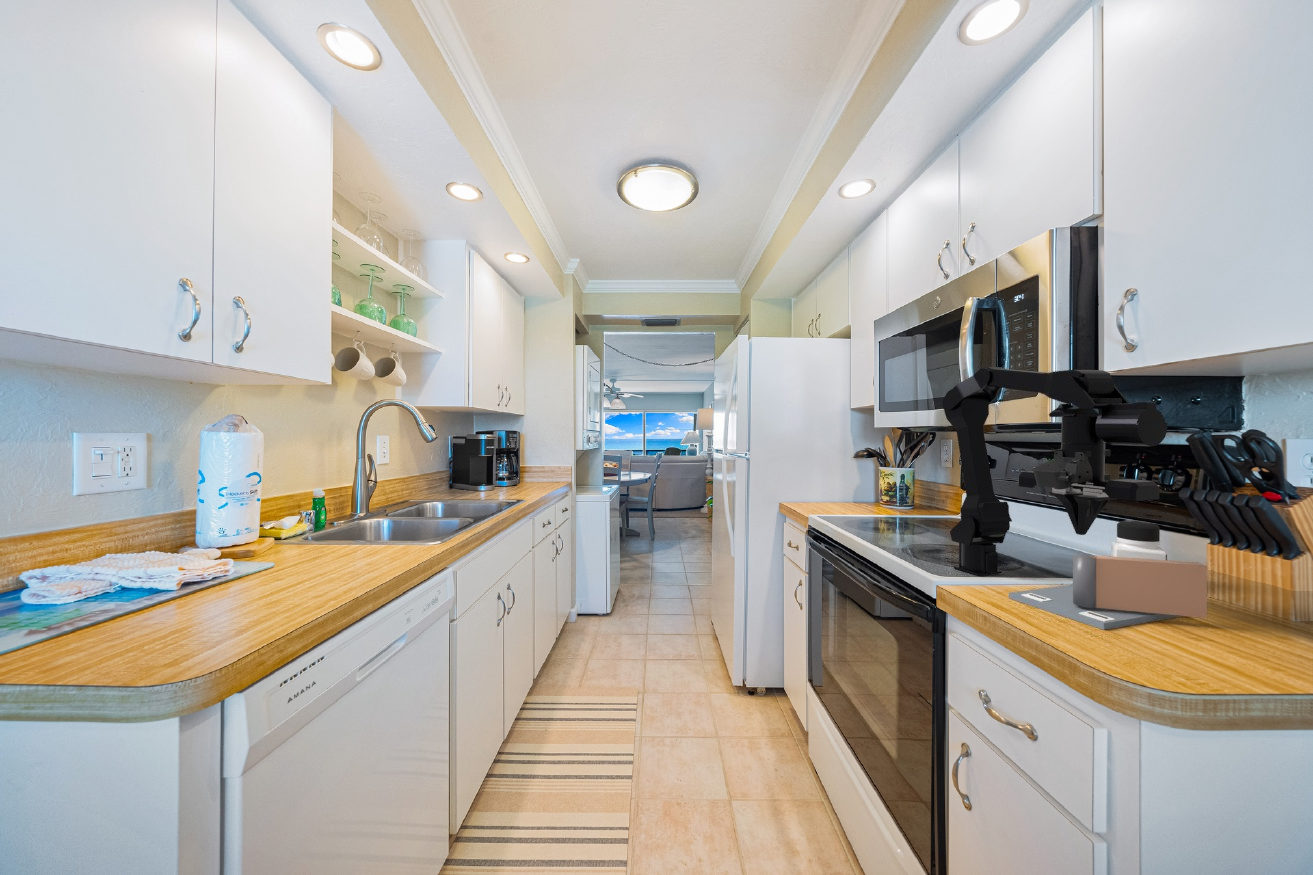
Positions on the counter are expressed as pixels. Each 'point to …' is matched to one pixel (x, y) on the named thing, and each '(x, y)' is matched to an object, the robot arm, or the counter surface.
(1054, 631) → the counter surface
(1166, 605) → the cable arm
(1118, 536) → the medicine bottle
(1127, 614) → the label board
